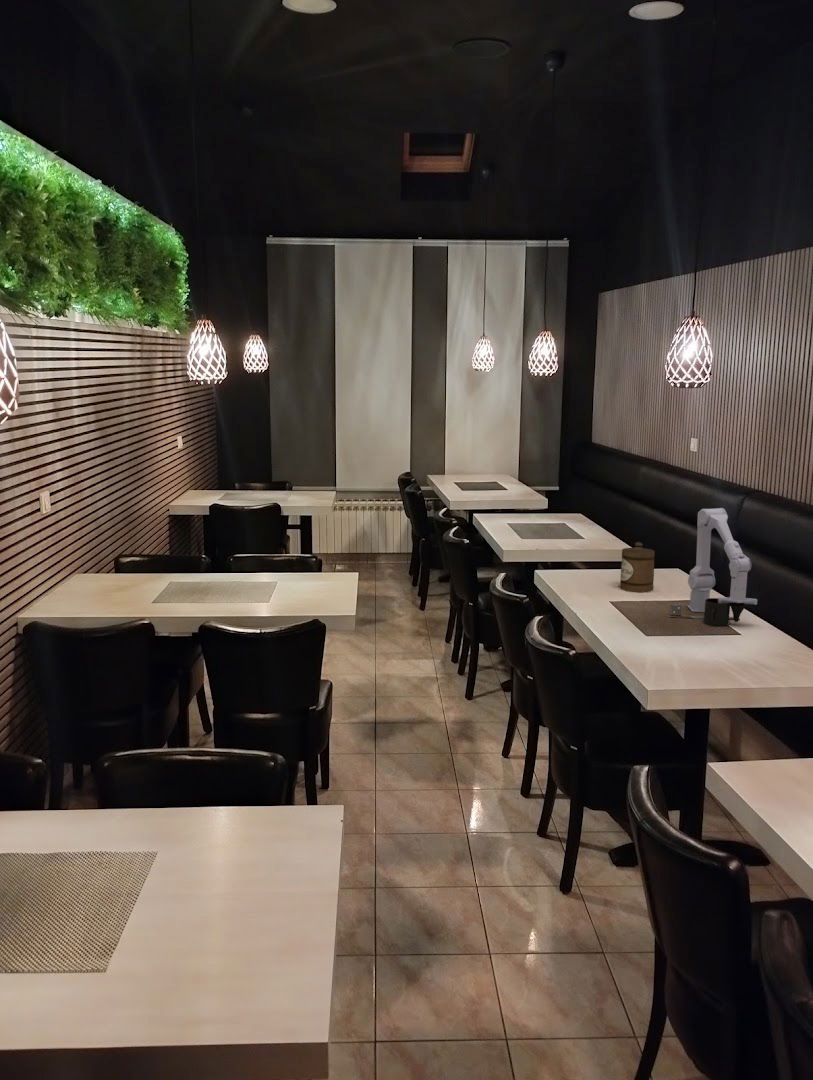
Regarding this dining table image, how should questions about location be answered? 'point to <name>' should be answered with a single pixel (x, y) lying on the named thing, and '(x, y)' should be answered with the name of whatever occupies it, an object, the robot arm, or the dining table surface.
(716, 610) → the mug
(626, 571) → the wooden container
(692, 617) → the wooden stick
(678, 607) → the die
